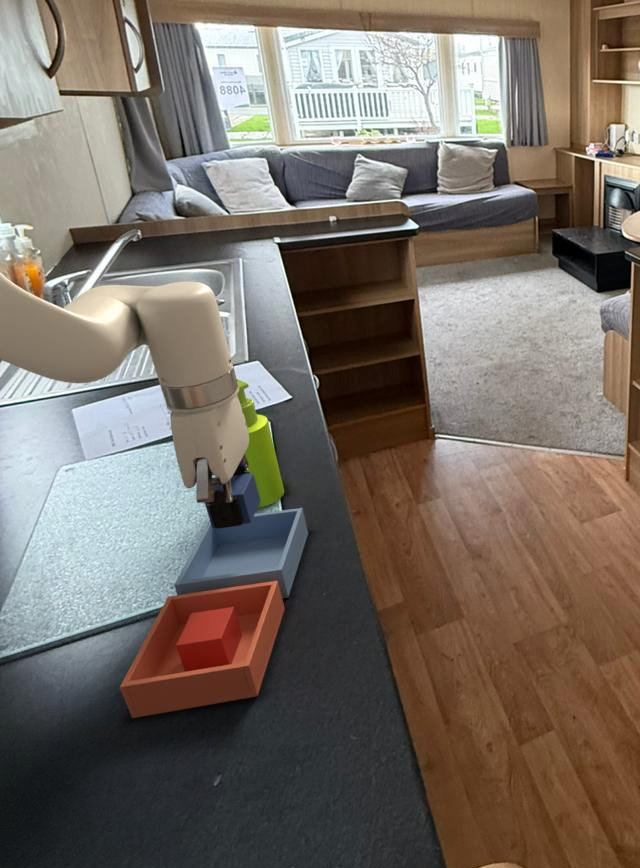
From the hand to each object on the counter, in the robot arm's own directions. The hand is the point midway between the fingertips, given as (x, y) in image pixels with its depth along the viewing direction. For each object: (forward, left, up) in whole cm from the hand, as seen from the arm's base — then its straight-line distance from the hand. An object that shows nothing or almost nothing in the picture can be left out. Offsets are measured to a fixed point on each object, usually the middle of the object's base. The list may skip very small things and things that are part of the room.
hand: (235, 510), depth 83 cm
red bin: (0, -14, -10) cm, 17 cm away
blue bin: (0, 0, -10) cm, 10 cm away
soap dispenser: (-3, +17, -10) cm, 20 cm away
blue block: (0, 0, -1) cm, 1 cm away
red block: (0, -14, -9) cm, 17 cm away
